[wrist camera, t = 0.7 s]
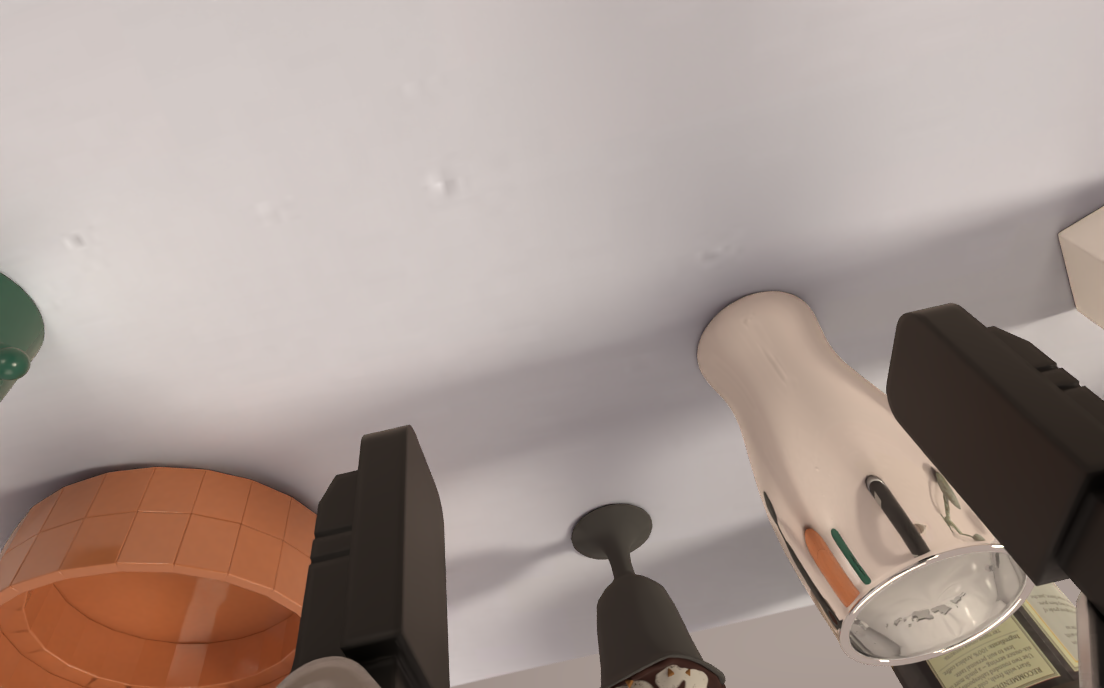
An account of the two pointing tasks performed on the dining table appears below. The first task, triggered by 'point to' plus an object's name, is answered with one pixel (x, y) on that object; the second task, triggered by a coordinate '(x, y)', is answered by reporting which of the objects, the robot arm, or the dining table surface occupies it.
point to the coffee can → (1010, 651)
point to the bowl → (155, 583)
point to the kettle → (17, 333)
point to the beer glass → (854, 492)
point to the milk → (1086, 264)
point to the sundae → (638, 611)
